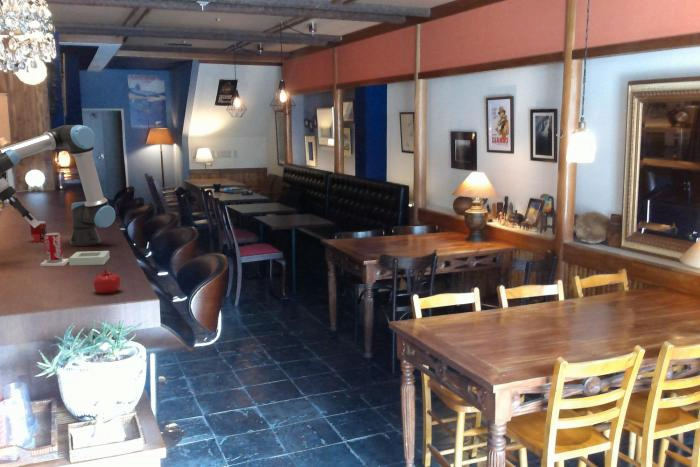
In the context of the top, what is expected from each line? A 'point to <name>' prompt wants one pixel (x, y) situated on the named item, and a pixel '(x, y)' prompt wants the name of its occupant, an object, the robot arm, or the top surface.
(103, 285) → the pomegranate
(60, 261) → the tile
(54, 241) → the soda can
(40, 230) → the canned food
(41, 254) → the top surface
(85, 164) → the robot arm
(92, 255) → the holder
